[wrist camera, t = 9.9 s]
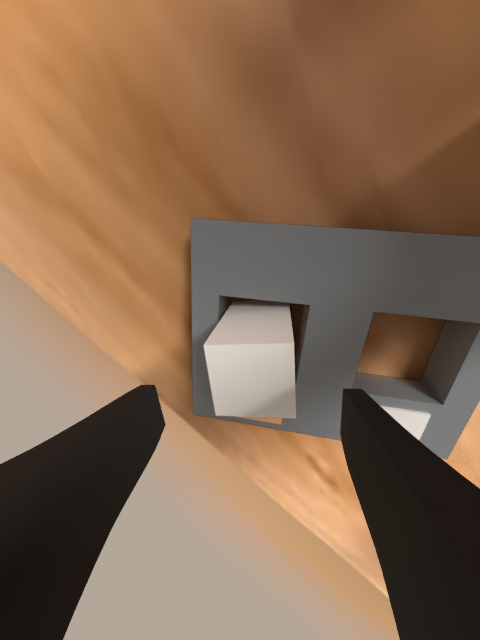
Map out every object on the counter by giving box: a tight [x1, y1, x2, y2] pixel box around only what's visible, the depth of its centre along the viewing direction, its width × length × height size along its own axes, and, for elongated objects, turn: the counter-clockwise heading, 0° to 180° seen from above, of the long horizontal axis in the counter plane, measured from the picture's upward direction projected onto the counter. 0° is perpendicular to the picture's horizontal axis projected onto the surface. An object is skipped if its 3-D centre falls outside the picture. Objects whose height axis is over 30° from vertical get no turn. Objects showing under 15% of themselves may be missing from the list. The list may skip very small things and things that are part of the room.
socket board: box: [191, 218, 480, 459], centre depth 15 cm, size 18×14×3 cm
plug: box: [203, 300, 296, 419], centre depth 14 cm, size 4×4×7 cm
